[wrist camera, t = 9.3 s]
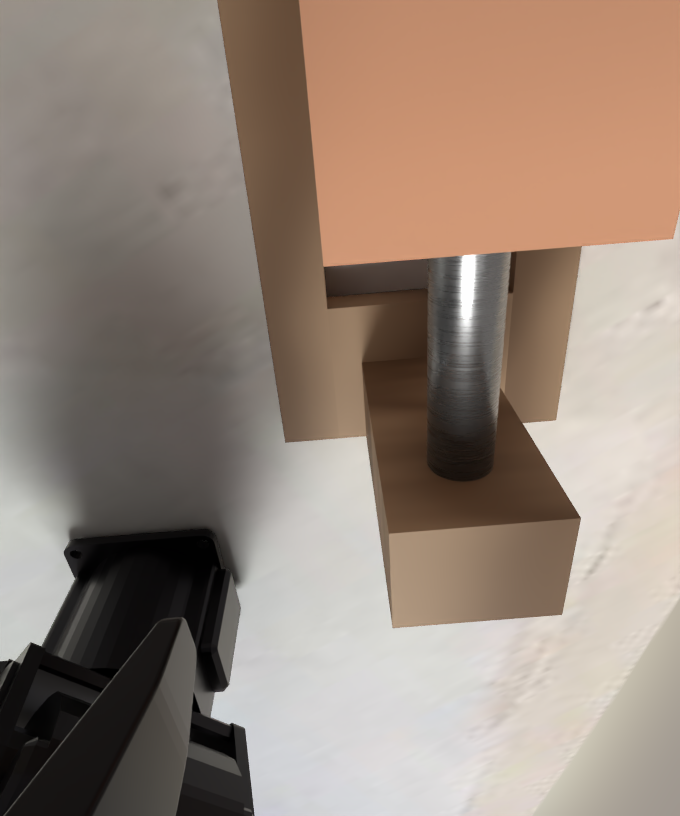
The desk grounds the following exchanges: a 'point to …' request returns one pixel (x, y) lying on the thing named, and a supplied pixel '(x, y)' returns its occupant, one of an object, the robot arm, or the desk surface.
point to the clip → (491, 124)
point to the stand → (411, 366)
